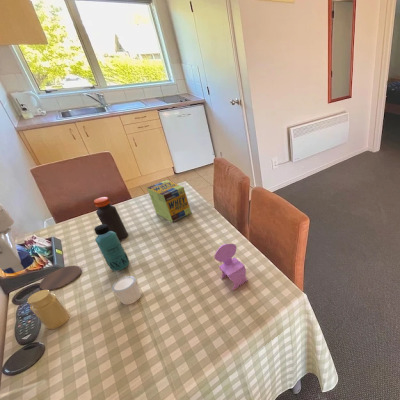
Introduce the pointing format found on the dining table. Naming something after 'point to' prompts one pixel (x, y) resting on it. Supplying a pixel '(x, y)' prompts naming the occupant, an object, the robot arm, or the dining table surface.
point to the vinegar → (110, 217)
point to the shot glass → (127, 290)
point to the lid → (25, 261)
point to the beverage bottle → (111, 248)
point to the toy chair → (231, 264)
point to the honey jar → (48, 309)
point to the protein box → (169, 200)
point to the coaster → (60, 278)
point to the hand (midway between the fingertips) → (17, 263)
